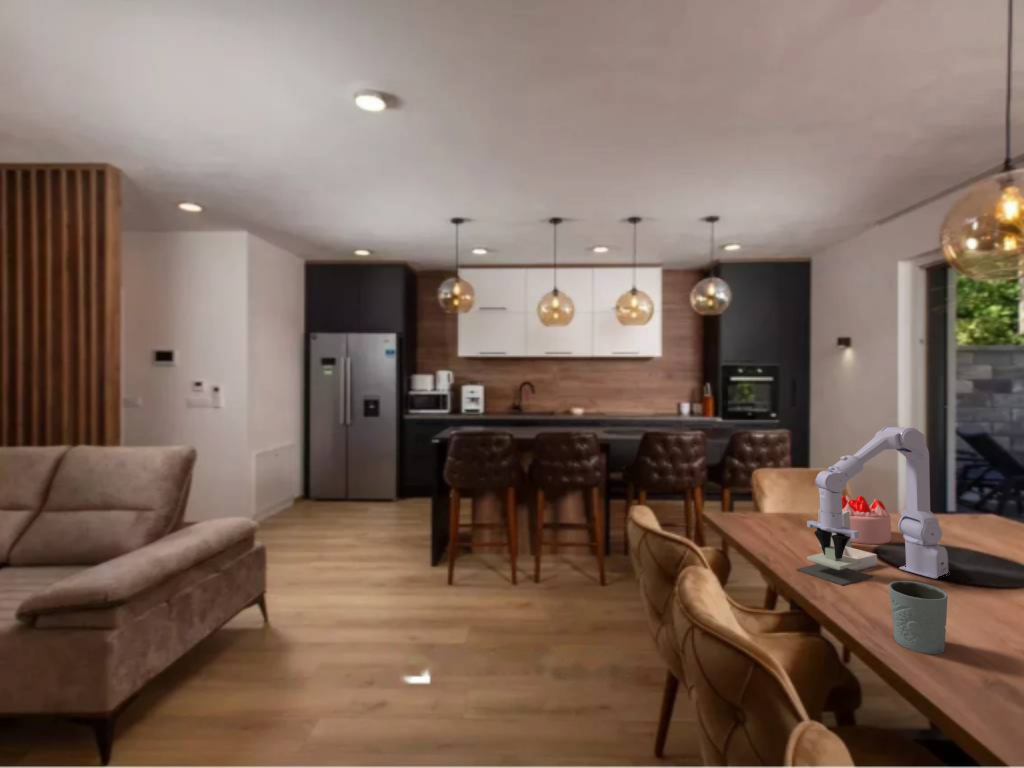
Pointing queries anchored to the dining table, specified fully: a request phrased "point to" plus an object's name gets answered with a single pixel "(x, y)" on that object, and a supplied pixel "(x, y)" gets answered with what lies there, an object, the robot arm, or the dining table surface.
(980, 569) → the dining table surface
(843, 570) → the mat
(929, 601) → the green embossed pot
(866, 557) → the shallow white tray
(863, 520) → the cake
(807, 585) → the dining table surface
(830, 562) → the lid
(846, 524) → the small box
